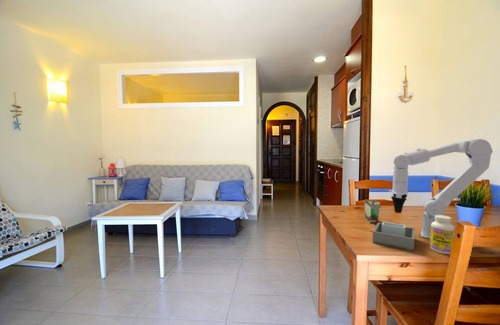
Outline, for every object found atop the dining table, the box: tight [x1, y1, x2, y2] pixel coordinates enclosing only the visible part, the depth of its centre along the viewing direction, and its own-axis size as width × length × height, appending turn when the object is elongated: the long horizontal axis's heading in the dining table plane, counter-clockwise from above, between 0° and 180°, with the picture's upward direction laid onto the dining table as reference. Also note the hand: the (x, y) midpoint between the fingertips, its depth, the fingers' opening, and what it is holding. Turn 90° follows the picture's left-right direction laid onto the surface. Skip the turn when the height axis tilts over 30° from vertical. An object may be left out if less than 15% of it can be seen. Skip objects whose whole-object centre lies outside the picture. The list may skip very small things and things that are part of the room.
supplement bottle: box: [429, 214, 455, 255], centre depth 85 cm, size 7×7×13 cm
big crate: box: [372, 222, 416, 252], centre depth 95 cm, size 14×15×4 cm
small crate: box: [381, 221, 407, 237], centre depth 95 cm, size 8×5×6 cm, turn 54°
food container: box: [363, 199, 382, 225], centre depth 121 cm, size 12×6×10 cm, turn 168°
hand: (398, 211), depth 106 cm, fingers open, 7 cm apart
